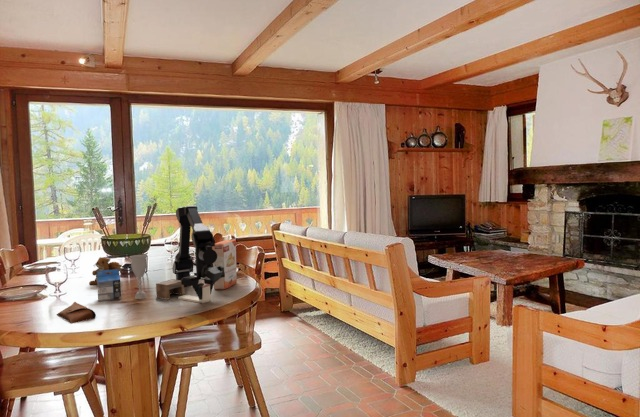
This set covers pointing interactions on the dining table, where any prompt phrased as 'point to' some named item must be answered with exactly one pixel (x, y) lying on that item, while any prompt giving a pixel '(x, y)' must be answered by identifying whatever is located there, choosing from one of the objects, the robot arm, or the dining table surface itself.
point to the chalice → (139, 272)
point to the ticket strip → (205, 297)
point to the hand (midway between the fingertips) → (204, 298)
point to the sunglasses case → (77, 313)
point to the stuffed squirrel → (104, 267)
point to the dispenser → (169, 288)
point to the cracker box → (226, 263)
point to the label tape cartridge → (108, 285)
